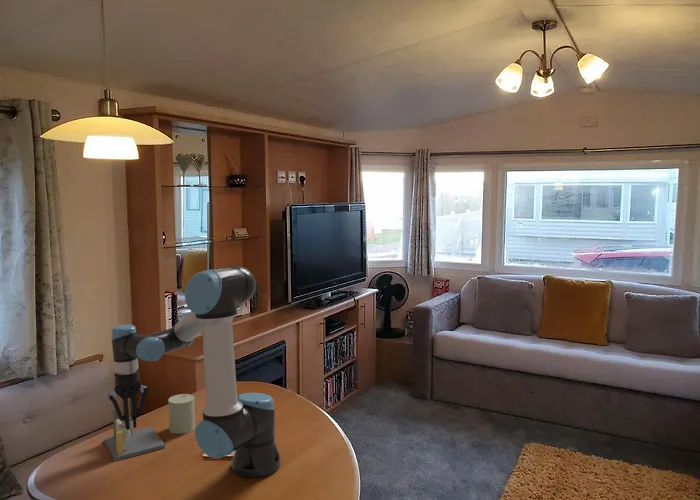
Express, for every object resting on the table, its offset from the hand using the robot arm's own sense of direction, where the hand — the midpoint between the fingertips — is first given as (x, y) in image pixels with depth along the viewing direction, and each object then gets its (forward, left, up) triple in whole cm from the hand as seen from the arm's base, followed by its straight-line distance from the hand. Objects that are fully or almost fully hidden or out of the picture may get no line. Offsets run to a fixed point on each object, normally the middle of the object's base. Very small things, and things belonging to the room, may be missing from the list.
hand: (131, 437), depth 183 cm
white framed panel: (+1, +3, -2) cm, 4 cm away
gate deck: (+1, -1, -3) cm, 4 cm away
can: (+4, -19, -4) cm, 19 cm away
